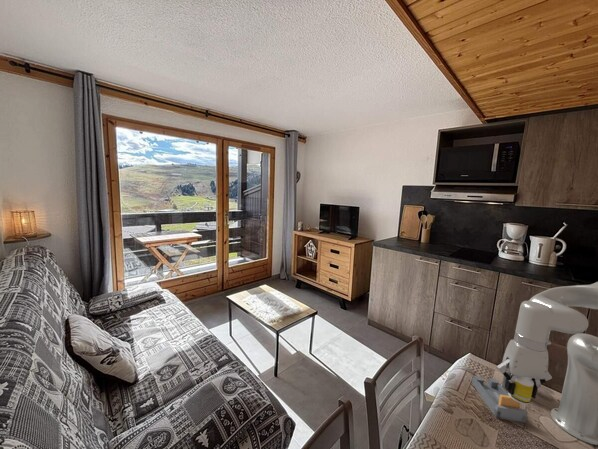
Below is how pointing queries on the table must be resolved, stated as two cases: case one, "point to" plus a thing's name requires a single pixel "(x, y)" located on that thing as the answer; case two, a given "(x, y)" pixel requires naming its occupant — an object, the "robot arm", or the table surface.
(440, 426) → the table surface
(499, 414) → the lane base
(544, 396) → the table surface
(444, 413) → the table surface
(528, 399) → the supplement bottle
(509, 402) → the pusher
